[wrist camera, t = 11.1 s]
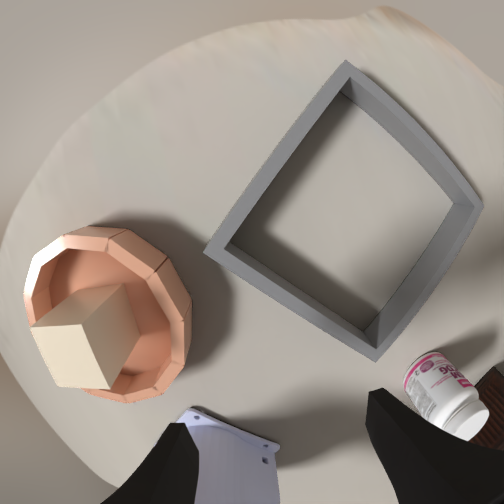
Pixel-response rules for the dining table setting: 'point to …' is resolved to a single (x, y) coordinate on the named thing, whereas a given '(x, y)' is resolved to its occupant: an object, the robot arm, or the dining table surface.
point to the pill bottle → (445, 396)
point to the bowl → (139, 294)
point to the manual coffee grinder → (491, 410)
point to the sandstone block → (88, 337)
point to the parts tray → (428, 265)
